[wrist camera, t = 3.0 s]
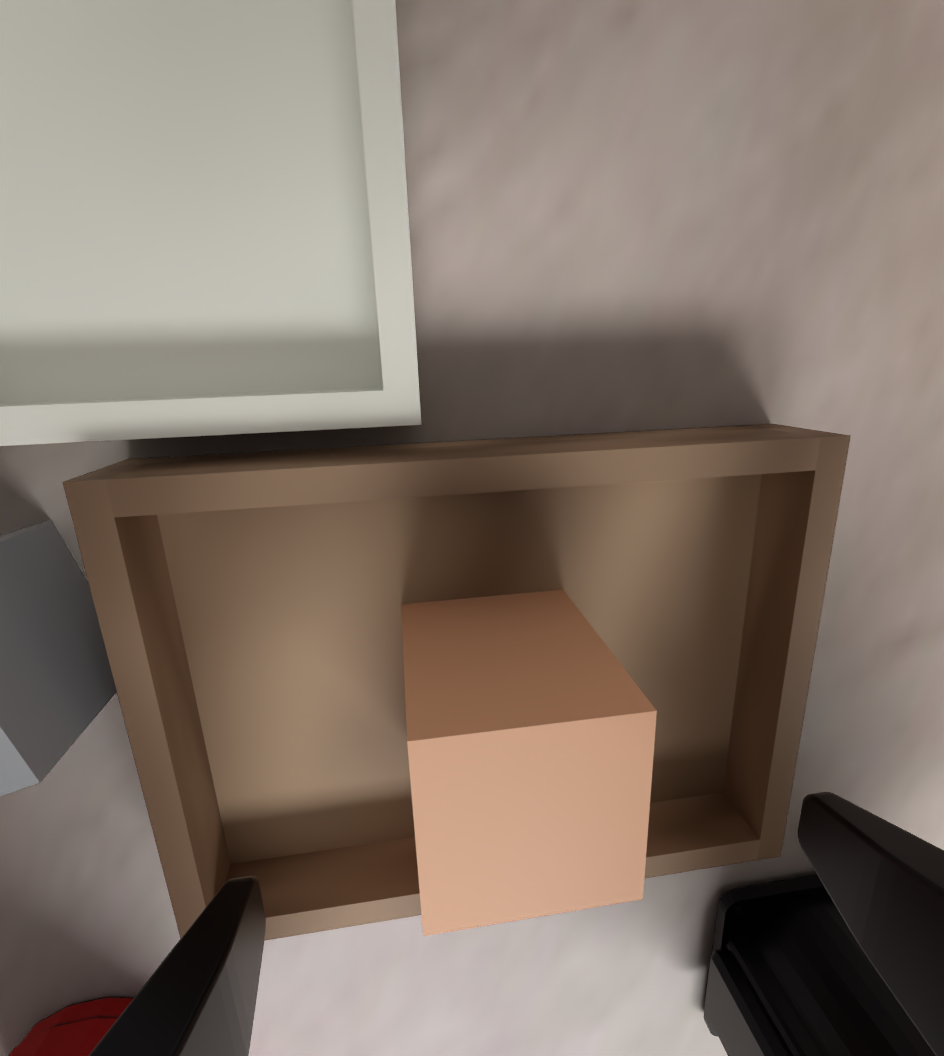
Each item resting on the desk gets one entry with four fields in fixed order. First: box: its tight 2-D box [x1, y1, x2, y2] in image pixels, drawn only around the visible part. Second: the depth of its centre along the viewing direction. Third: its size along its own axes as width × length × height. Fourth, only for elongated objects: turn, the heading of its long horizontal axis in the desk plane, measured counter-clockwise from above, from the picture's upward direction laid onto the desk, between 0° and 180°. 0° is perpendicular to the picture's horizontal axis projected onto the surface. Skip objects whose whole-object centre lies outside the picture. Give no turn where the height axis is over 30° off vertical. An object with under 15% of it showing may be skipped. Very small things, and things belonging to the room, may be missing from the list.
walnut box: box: [63, 424, 850, 940], centre depth 13 cm, size 15×11×2 cm
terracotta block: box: [401, 590, 657, 936], centre depth 11 cm, size 4×4×5 cm
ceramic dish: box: [0, 0, 421, 446], centre depth 10 cm, size 9×9×2 cm
